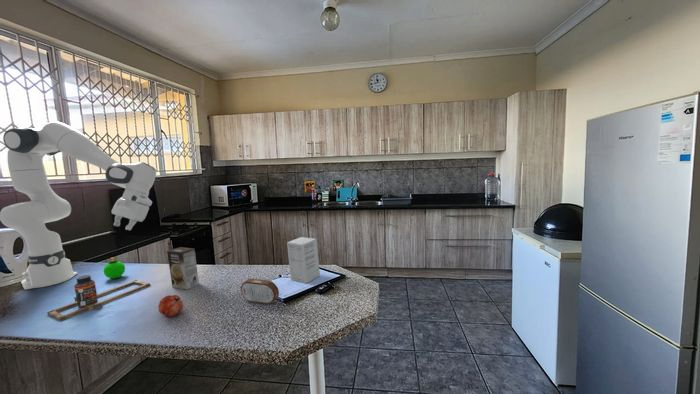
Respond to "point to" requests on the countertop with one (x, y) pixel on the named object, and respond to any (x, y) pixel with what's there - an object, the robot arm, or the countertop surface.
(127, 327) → the countertop surface
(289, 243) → the supplement box
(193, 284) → the coffee box
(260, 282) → the tin
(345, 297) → the countertop surface
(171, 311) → the red round fruit
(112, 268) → the ornament
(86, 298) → the supplement bottle
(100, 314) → the countertop surface
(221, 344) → the countertop surface
